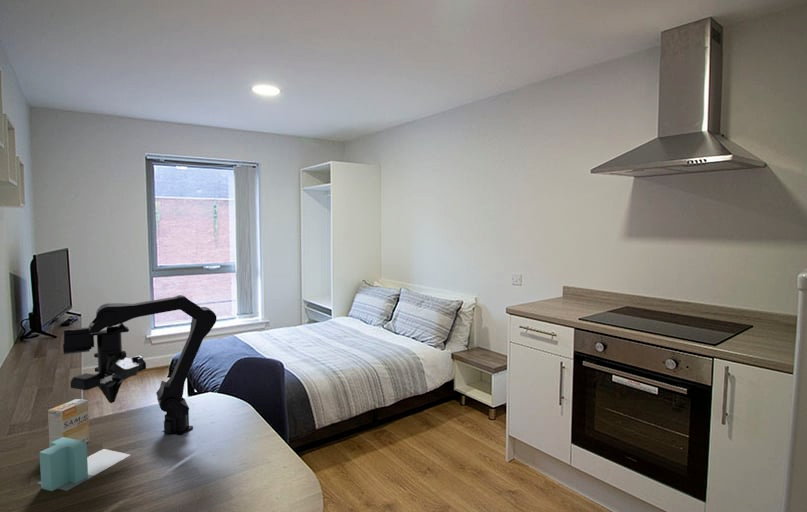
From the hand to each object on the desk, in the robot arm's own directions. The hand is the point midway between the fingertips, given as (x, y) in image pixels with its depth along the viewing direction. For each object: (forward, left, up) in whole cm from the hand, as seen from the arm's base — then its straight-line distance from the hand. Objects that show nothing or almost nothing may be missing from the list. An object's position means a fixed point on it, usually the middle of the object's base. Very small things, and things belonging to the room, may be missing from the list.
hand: (111, 402), depth 124 cm
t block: (+18, +5, -12) cm, 22 cm away
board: (+11, +5, -13) cm, 18 cm away
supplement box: (+5, -10, -13) cm, 17 cm away
